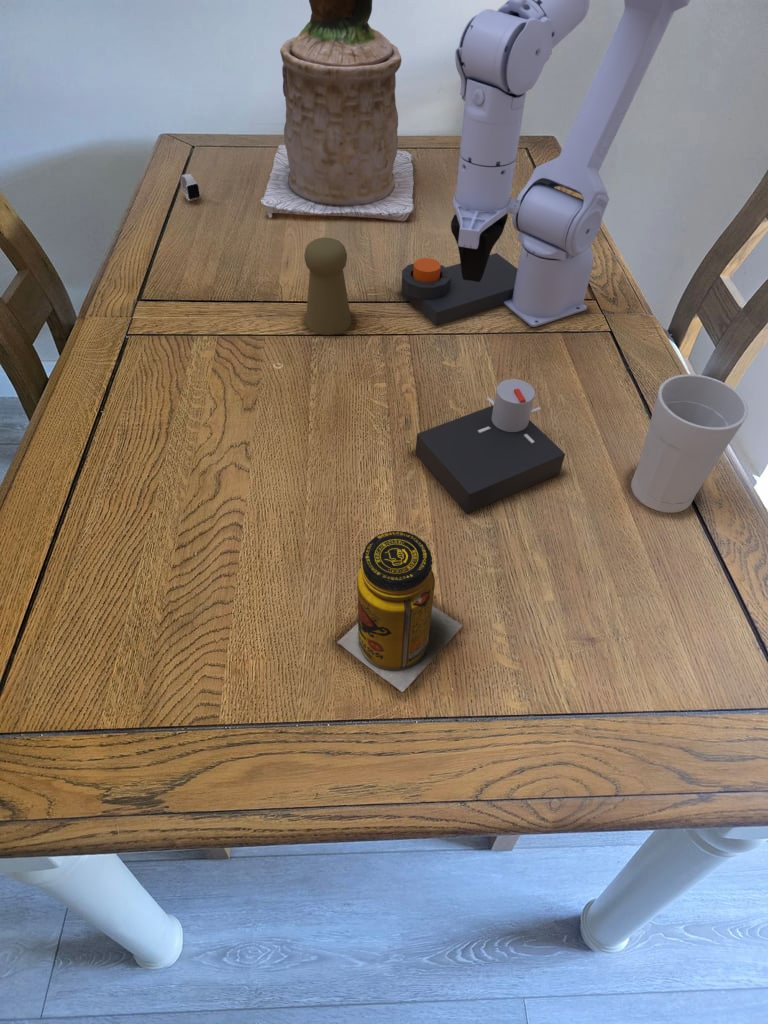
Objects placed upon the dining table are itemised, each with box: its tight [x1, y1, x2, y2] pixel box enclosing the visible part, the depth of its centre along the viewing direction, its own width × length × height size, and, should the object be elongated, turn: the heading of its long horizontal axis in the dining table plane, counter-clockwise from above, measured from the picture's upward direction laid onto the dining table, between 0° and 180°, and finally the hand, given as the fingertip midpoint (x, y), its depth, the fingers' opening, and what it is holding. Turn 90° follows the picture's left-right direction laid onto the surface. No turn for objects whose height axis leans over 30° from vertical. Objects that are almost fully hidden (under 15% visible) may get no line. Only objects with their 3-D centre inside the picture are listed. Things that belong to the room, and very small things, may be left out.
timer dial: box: [492, 378, 536, 432], centre depth 75 cm, size 4×4×4 cm
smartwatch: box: [179, 173, 201, 202], centre depth 115 cm, size 4×2×4 cm, turn 32°
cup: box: [630, 373, 749, 514], centre depth 70 cm, size 8×8×12 cm
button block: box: [401, 252, 518, 327], centre depth 97 cm, size 17×9×4 cm, turn 120°
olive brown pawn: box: [303, 237, 352, 336], centre depth 89 cm, size 6×6×11 cm
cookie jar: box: [260, 0, 415, 222], centre depth 108 cm, size 25×25×32 cm
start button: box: [413, 257, 442, 283], centre depth 94 cm, size 4×4×2 cm
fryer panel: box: [415, 397, 566, 514], centre depth 76 cm, size 14×11×3 cm
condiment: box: [337, 530, 464, 693], centre depth 57 cm, size 7×8×12 cm
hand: (472, 277), depth 82 cm, fingers closed
